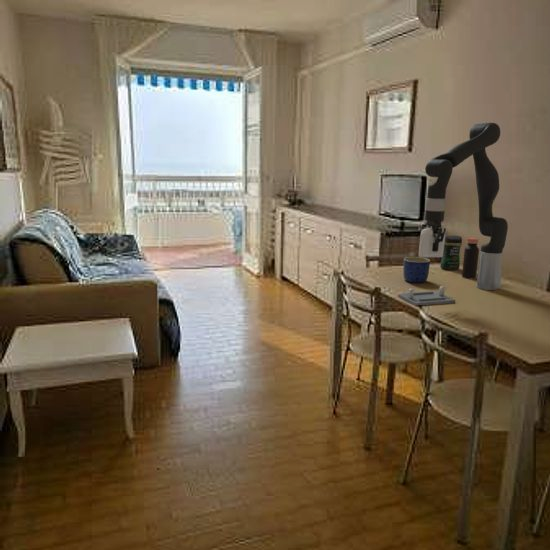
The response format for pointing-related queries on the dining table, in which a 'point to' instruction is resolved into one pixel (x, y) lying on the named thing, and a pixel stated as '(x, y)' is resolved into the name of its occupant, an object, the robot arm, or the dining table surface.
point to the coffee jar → (451, 253)
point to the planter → (416, 269)
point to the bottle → (470, 259)
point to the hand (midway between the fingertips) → (431, 250)
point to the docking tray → (426, 297)
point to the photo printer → (429, 244)
